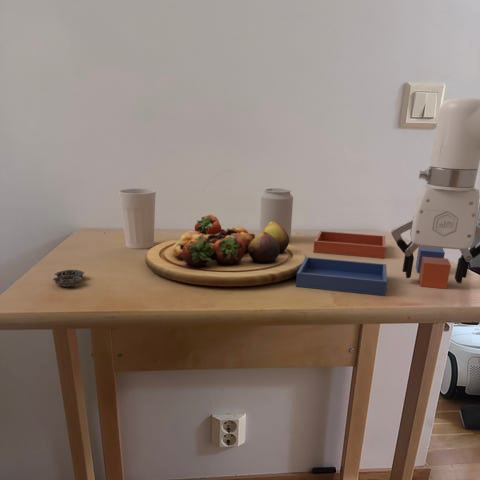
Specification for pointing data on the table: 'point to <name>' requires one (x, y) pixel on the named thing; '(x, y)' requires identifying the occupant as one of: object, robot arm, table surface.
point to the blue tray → (342, 276)
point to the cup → (138, 217)
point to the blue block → (428, 254)
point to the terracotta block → (434, 272)
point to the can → (276, 208)
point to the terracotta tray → (350, 244)
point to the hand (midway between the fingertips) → (432, 278)
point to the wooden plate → (226, 256)
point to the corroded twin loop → (68, 277)
